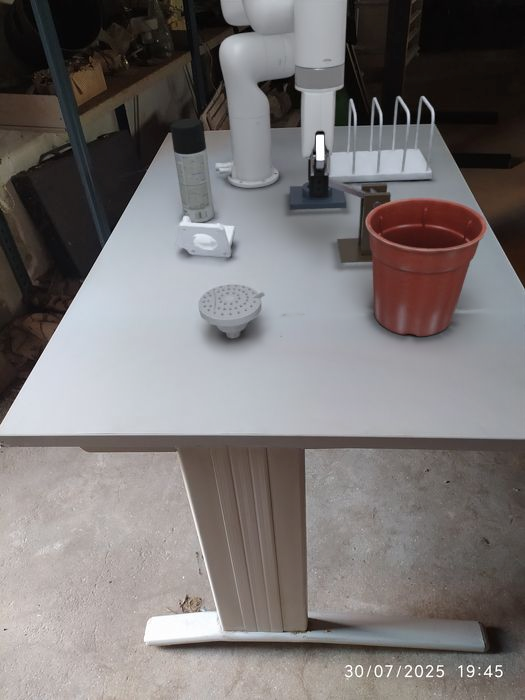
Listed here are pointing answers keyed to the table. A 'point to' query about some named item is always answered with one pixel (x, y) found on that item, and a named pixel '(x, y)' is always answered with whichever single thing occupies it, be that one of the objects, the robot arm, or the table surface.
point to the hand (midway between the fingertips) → (317, 188)
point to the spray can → (192, 169)
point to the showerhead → (230, 307)
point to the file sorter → (382, 154)
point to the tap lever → (350, 188)
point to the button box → (303, 201)
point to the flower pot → (421, 261)
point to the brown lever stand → (363, 226)
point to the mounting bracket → (205, 238)
